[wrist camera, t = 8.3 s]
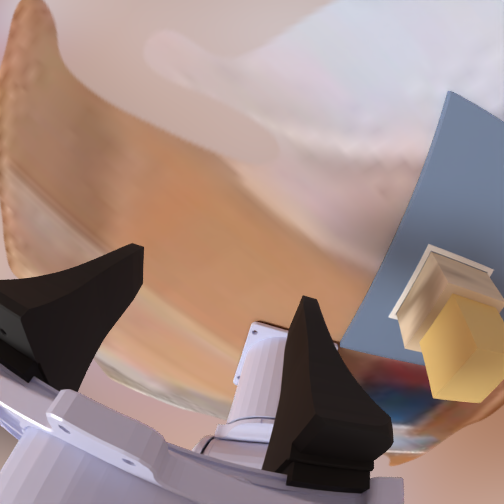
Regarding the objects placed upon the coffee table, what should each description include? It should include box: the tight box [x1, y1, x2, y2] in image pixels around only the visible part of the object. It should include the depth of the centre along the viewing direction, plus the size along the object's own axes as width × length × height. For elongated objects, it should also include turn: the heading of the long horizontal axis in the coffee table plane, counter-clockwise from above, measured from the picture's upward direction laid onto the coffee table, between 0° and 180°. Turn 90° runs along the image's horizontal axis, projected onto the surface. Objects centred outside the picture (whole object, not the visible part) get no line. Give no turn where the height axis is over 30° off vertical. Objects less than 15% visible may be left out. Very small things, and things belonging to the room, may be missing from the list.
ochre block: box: [419, 293, 504, 403], centre depth 16 cm, size 4×4×5 cm
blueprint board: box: [340, 91, 504, 366], centre depth 20 cm, size 22×16×1 cm
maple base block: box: [396, 252, 504, 352], centre depth 20 cm, size 6×6×4 cm
